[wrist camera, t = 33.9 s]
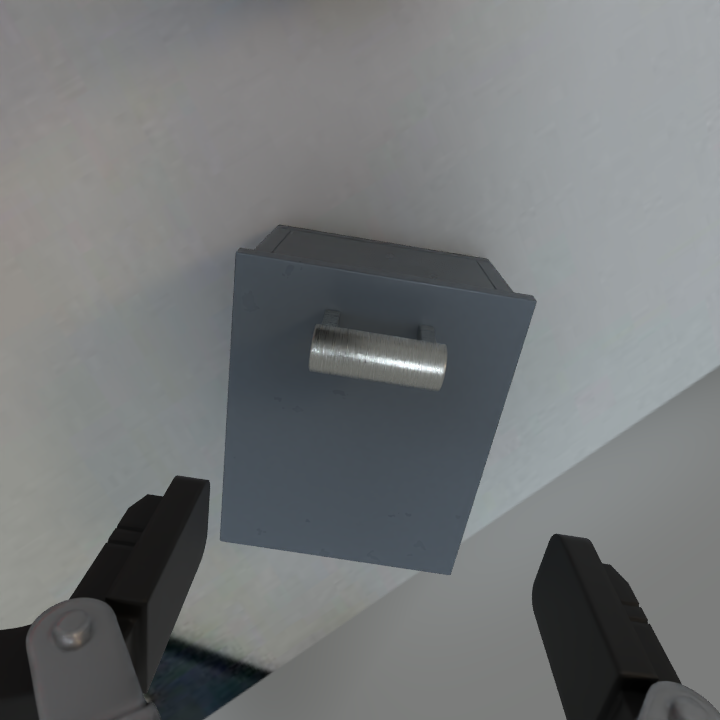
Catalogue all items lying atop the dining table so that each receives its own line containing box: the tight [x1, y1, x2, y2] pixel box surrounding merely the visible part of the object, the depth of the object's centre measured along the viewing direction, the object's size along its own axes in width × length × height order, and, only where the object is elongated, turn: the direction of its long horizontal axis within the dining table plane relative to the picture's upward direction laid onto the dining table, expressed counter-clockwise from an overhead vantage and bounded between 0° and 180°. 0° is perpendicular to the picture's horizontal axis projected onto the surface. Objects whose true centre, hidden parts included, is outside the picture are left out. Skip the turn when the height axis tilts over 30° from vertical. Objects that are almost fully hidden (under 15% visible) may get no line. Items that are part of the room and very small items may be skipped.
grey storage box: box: [254, 225, 513, 292], centre depth 36 cm, size 17×14×10 cm
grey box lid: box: [220, 248, 536, 575], centre depth 28 cm, size 18×14×5 cm
